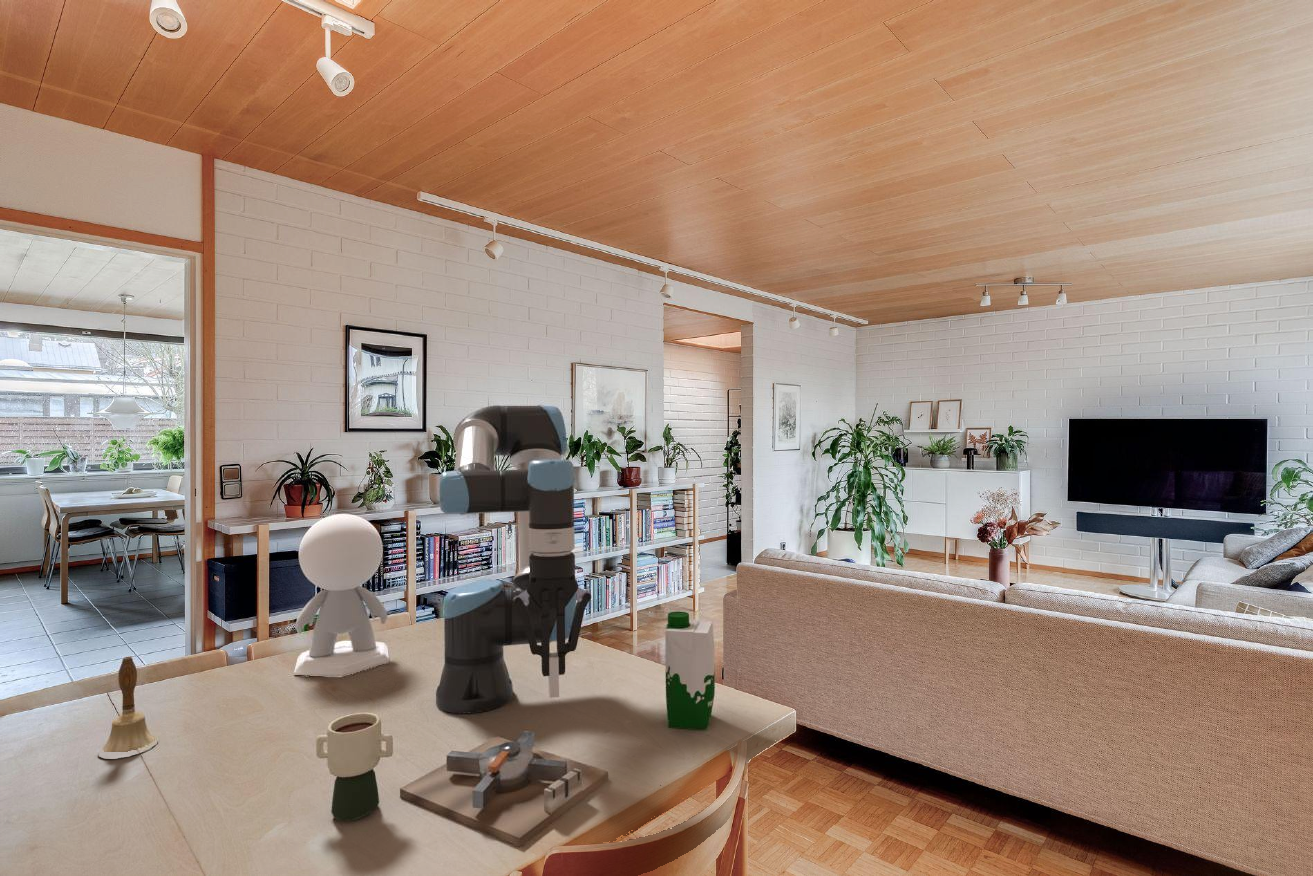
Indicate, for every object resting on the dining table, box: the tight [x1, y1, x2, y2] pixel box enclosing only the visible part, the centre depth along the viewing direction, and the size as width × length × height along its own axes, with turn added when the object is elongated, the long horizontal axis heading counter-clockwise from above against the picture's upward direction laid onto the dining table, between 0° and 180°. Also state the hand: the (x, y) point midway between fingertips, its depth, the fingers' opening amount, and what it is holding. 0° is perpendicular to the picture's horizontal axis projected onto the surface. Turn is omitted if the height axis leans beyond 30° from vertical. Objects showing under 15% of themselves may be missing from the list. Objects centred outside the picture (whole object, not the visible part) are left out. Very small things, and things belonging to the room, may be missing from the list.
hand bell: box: [102, 656, 157, 752], centre depth 118 cm, size 8×8×16 cm
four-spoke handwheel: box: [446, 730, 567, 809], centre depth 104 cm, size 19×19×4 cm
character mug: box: [315, 712, 394, 821], centre depth 97 cm, size 11×7×13 cm, turn 91°
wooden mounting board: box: [399, 735, 609, 848], centre depth 104 cm, size 24×20×4 cm
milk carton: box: [664, 610, 716, 731], centre depth 127 cm, size 9×9×20 cm
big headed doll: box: [293, 513, 390, 678], centre depth 161 cm, size 20×23×35 cm
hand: (553, 694), depth 112 cm, fingers closed
